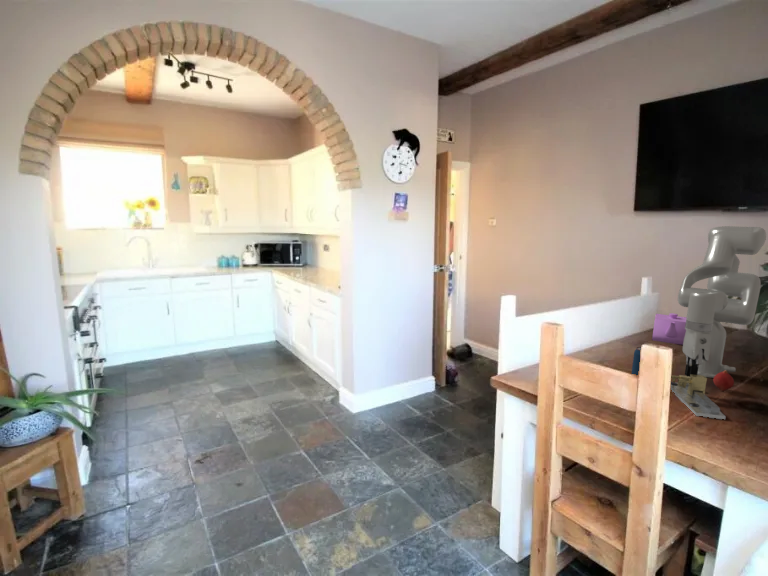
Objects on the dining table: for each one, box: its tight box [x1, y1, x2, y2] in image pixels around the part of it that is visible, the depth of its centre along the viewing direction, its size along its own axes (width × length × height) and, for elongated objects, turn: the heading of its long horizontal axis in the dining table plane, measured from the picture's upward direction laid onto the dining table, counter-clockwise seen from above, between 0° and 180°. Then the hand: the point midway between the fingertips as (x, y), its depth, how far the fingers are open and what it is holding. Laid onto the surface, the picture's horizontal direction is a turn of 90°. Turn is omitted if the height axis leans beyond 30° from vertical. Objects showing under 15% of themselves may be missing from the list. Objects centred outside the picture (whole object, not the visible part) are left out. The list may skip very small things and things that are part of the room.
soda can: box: [631, 346, 642, 375], centre depth 159 cm, size 7×7×12 cm
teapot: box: [651, 312, 687, 346], centre depth 209 cm, size 15×25×14 cm, turn 145°
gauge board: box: [670, 374, 726, 421], centre depth 141 cm, size 8×26×5 cm, turn 163°
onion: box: [712, 370, 735, 392], centre depth 149 cm, size 6×6×8 cm
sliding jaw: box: [677, 374, 708, 395], centre depth 142 cm, size 8×2×7 cm, turn 73°
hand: (690, 375), depth 146 cm, fingers closed
